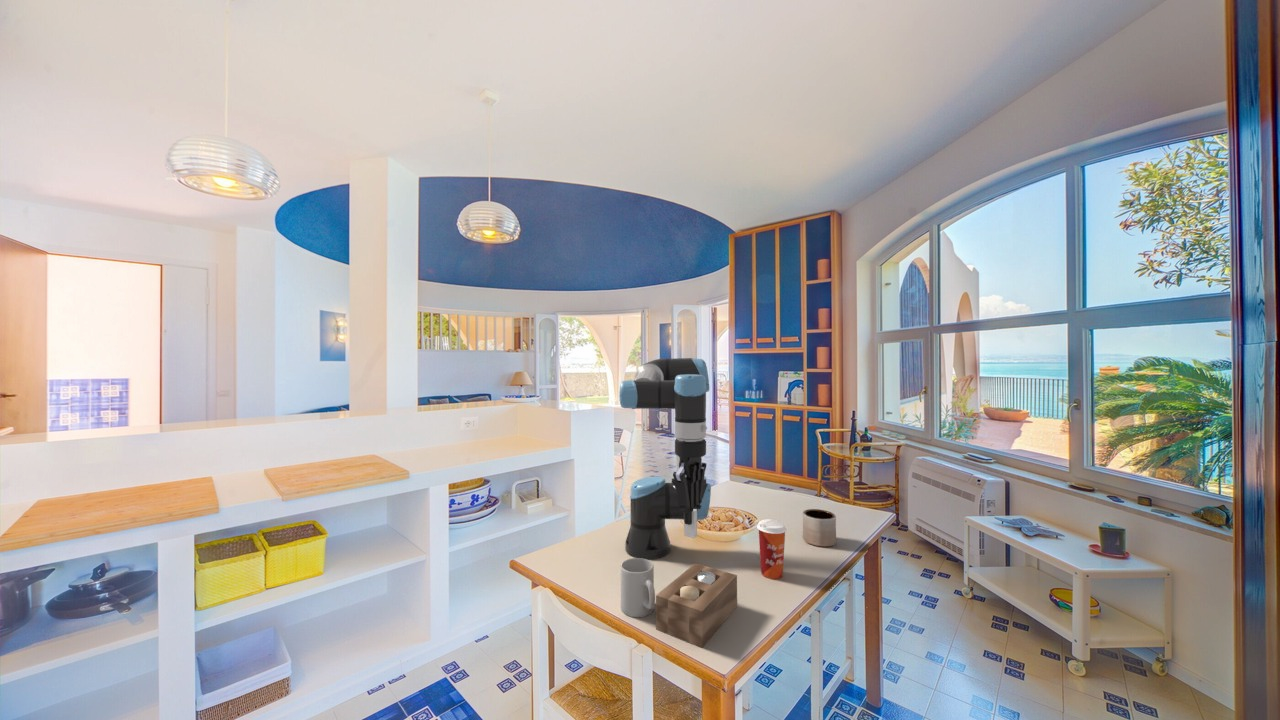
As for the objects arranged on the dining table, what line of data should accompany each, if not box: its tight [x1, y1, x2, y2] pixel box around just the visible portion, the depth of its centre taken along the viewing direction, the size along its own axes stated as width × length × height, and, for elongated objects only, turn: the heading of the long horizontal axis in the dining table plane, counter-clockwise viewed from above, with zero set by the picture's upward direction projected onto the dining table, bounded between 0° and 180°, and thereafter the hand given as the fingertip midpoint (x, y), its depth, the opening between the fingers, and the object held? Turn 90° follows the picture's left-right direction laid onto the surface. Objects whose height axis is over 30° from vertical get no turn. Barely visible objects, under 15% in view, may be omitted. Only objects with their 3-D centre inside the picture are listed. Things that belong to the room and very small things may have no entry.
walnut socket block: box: [655, 562, 738, 649], centre depth 109 cm, size 12×20×8 cm, turn 146°
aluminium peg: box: [697, 571, 715, 585], centre depth 113 cm, size 4×4×8 cm
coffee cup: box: [756, 518, 787, 580], centre depth 131 cm, size 8×8×15 cm
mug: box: [620, 557, 656, 618], centre depth 112 cm, size 12×8×11 cm
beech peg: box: [680, 586, 699, 601], centre depth 105 cm, size 4×4×8 cm
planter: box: [802, 508, 837, 548], centre depth 155 cm, size 11×11×10 cm
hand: (690, 535), depth 107 cm, fingers closed
